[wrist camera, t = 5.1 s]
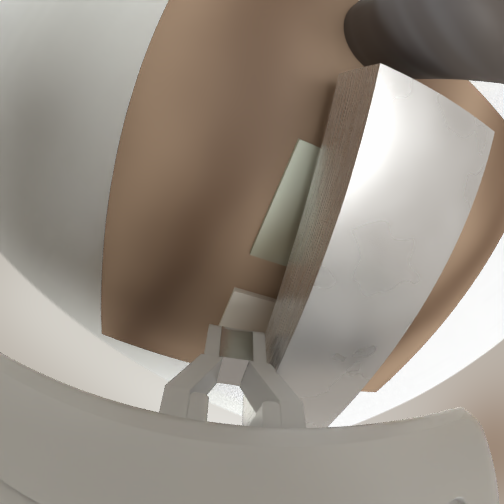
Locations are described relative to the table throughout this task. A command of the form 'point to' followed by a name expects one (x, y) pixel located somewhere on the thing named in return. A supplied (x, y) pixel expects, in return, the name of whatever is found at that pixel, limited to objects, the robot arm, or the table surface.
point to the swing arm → (371, 234)
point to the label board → (271, 157)
